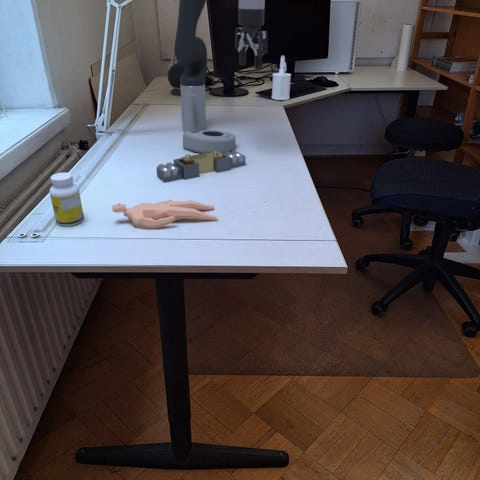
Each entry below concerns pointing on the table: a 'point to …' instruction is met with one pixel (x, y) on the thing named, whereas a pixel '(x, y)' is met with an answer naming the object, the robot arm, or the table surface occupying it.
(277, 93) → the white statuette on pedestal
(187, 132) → the turbocharger housing
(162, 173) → the chain ends
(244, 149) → the table surface
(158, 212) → the male figurine
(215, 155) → the brass block with pins
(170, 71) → the dark grey lump
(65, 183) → the pill bottle
